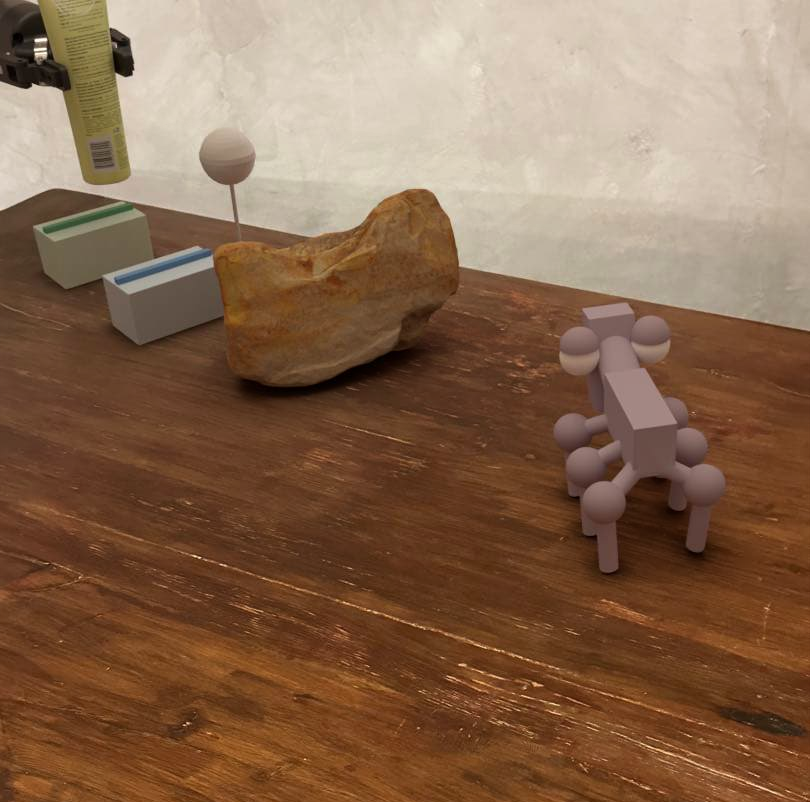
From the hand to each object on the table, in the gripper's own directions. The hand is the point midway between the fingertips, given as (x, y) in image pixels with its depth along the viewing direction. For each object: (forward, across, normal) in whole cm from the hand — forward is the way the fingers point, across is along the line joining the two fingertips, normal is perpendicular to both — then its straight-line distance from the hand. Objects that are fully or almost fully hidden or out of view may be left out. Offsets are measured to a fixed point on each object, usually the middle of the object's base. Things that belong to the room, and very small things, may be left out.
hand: (97, 72), depth 109 cm
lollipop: (0, +13, +23) cm, 26 cm away
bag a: (+8, 0, +23) cm, 24 cm away
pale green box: (-10, 0, +23) cm, 25 cm away
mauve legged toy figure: (+60, +11, +23) cm, 65 cm away
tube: (-2, 0, +11) cm, 11 cm away
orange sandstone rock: (+24, +9, +23) cm, 35 cm away
